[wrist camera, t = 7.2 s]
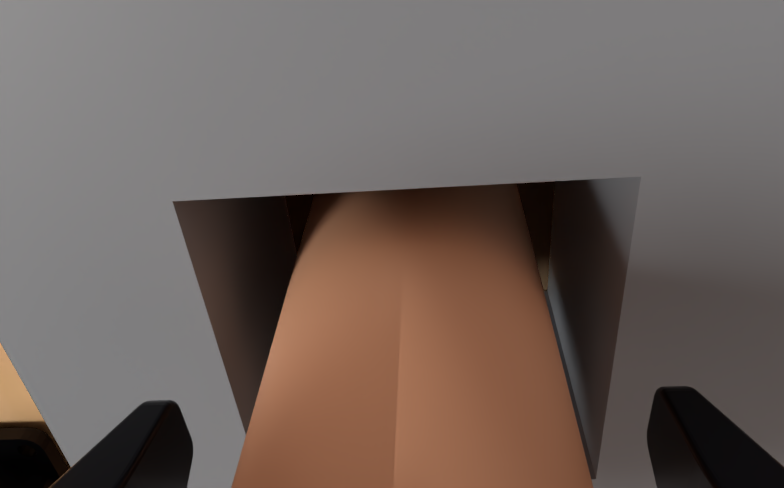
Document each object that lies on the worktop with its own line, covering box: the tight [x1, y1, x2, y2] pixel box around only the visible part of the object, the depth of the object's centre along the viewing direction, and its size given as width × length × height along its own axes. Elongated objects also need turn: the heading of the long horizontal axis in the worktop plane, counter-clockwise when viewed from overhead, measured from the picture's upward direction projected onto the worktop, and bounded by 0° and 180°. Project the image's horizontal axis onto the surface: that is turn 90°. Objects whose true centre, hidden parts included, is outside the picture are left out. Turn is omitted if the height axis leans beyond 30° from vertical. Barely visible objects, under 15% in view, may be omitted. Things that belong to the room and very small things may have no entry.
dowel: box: [231, 183, 593, 488], centre depth 9 cm, size 4×4×10 cm
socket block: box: [0, 0, 784, 488], centre depth 11 cm, size 12×12×5 cm
